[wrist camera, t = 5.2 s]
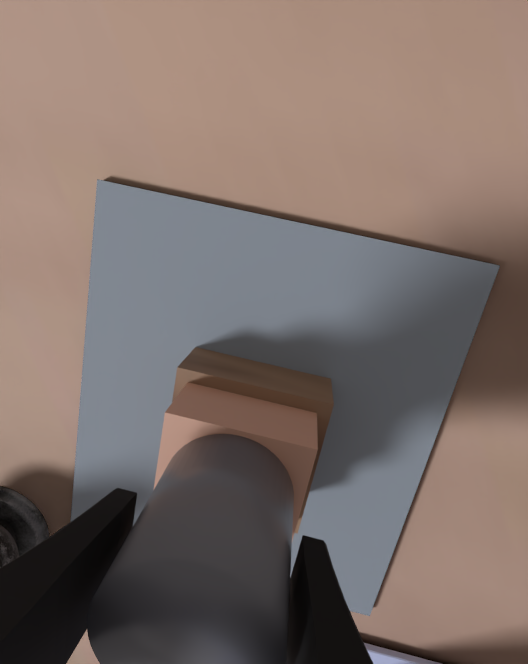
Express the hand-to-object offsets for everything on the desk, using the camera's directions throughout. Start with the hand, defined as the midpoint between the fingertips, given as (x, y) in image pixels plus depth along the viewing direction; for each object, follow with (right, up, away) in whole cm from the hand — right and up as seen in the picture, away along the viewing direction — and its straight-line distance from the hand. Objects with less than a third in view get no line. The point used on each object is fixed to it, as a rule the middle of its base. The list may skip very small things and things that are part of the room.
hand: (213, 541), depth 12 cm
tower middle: (+1, +1, +4) cm, 4 cm away
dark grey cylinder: (0, +1, +2) cm, 2 cm away
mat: (+1, +2, +7) cm, 7 cm away
